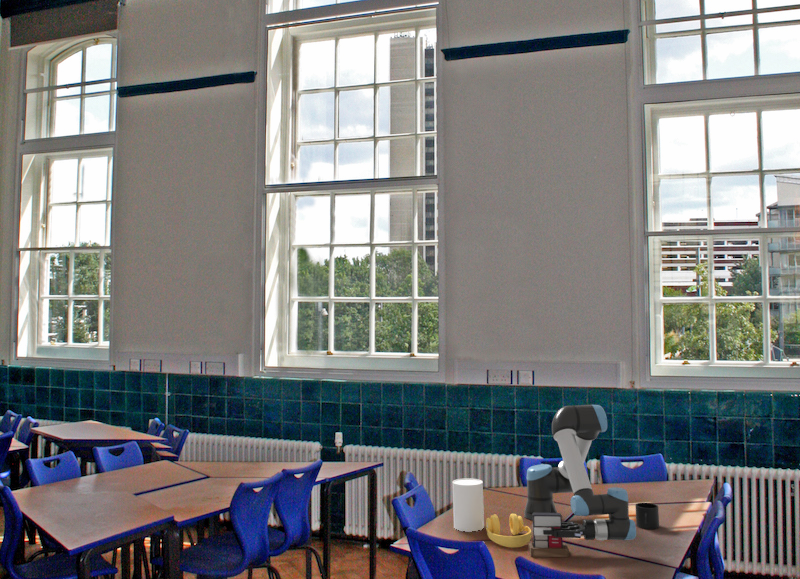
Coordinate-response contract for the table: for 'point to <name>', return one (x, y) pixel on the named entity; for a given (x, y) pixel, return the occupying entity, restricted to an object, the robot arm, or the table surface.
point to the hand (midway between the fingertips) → (533, 529)
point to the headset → (515, 528)
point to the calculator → (547, 522)
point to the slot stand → (548, 551)
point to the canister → (468, 504)
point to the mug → (647, 515)
